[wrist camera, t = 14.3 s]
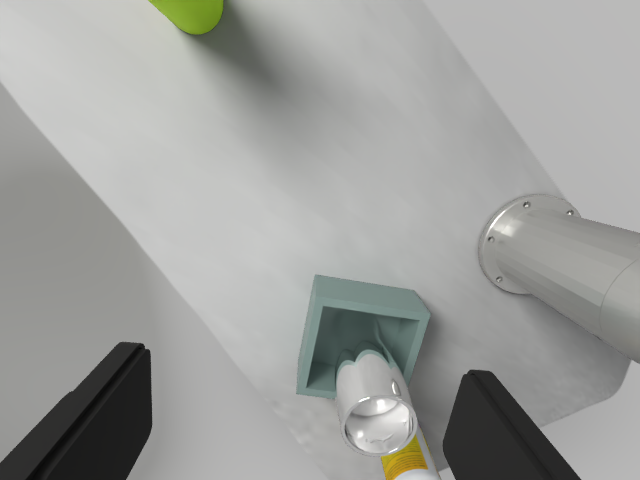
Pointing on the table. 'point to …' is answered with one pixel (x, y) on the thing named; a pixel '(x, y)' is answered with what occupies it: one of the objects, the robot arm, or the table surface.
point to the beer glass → (370, 389)
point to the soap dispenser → (191, 13)
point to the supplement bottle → (411, 461)
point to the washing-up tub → (381, 301)
